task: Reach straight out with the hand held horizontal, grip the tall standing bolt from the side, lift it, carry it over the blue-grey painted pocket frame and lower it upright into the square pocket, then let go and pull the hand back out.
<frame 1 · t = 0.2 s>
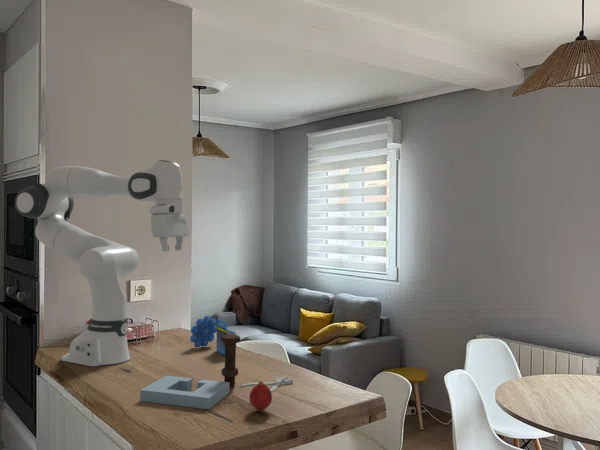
hand: (172, 250, 178), 38 cm above the countertop, tool pointing down, fingers open, 8 cm apart
bolt: (229, 387, 159), on the countertop
pliers: (270, 387, 161), on the countertop
grapes: (202, 347, 207), on the countertop
onion: (260, 412, 140), on the countertop
pocket frame: (186, 396, 149), on the countertop
label tape box: (225, 354, 198), on the countertop
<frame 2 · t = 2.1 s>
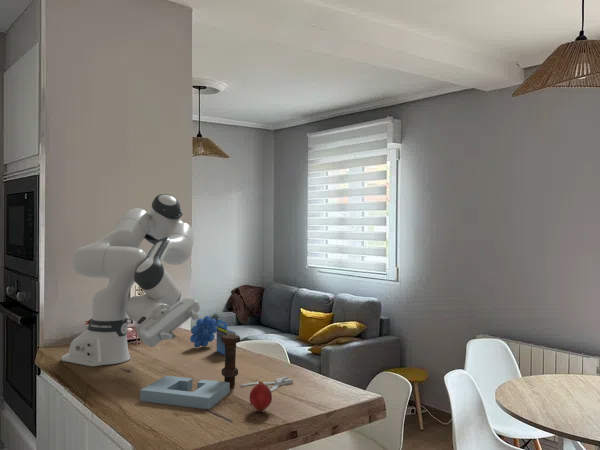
hand: (185, 326, 163), 16 cm above the countertop, tool horizontal, fingers open, 8 cm apart
nothing on the countertop moved.
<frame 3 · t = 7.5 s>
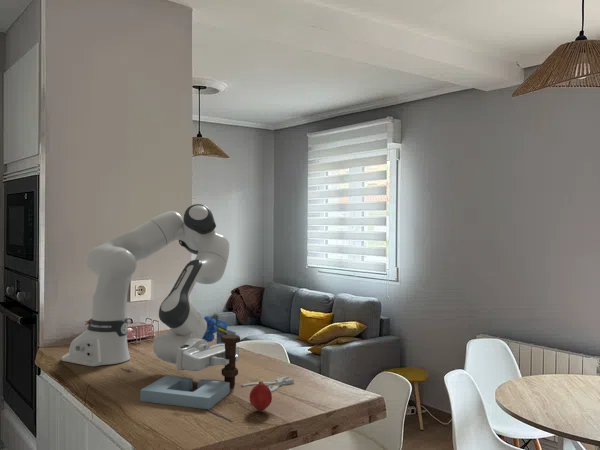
hand: (232, 360, 158), 8 cm above the countertop, tool horizontal, fingers closed on bolt, 3 cm apart
bolt: (229, 387, 159), on the countertop, touching gripper
everything else where it was.
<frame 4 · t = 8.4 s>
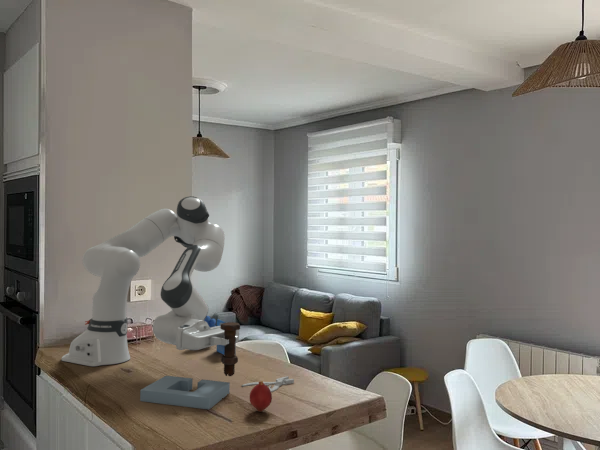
hand: (232, 340, 157), 14 cm above the countertop, tool horizontal, fingers closed on bolt, 3 cm apart
bolt: (229, 375, 158), point 4 cm above the countertop, touching gripper
everything else where it was.
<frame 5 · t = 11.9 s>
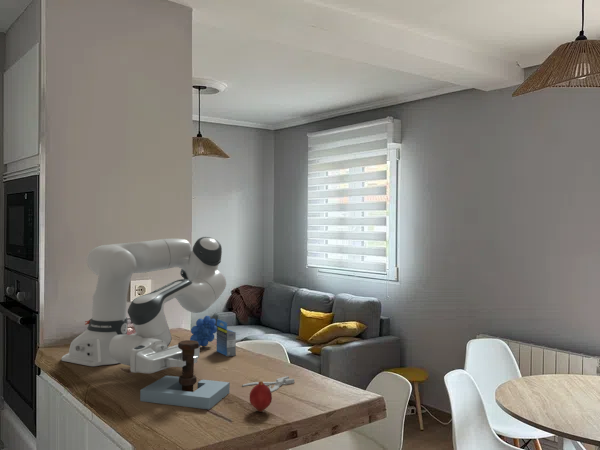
hand: (190, 361, 149), 10 cm above the countertop, tool horizontal, fingers closed on bolt, 3 cm apart
bolt: (187, 396, 149), resting on pocket frame, touching gripper
everything else where it was.
when the fingers open (10 cm above the countertop, at t = 12.2 s): bolt stays where it is, resting on pocket frame.
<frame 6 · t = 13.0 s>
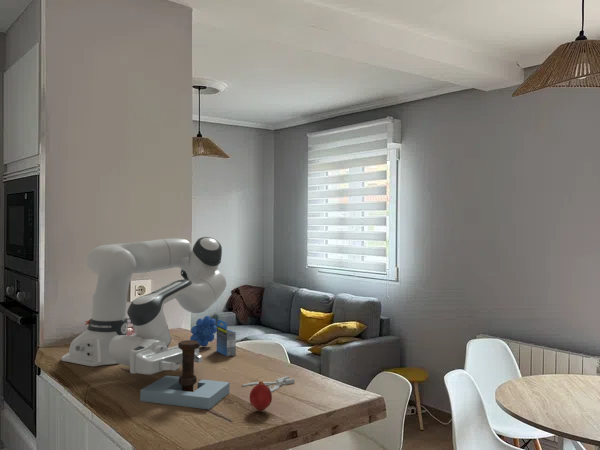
hand: (189, 363, 149), 10 cm above the countertop, tool horizontal, fingers open, 8 cm apart
bolt: (187, 396, 149), resting on pocket frame
everything else where it was.
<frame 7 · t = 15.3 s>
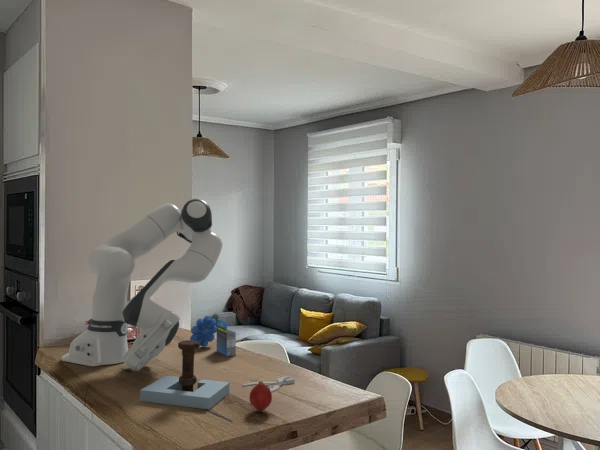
hand: (155, 336, 155), 15 cm above the countertop, tool pointing upward, fingers open, 8 cm apart
nothing on the countertop moved.
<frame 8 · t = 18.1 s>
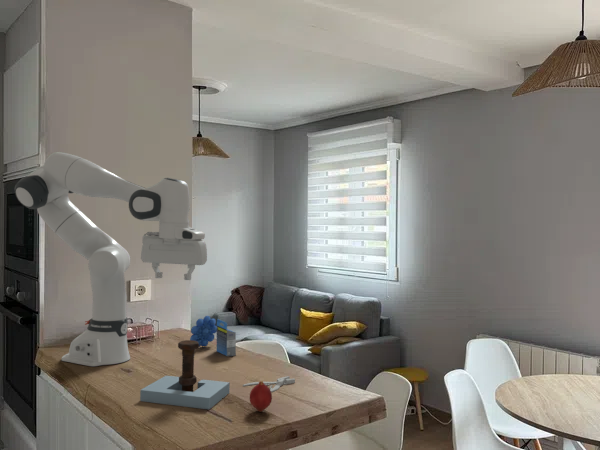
hand: (173, 279, 161), 31 cm above the countertop, tool pointing down, fingers open, 8 cm apart
nothing on the countertop moved.
at the end: bolt 0.3 cm off-centre on the pocket frame, point 0.0 cm above the pocket frame's base; bolt tilted 0°; the gripper is holding nothing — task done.
